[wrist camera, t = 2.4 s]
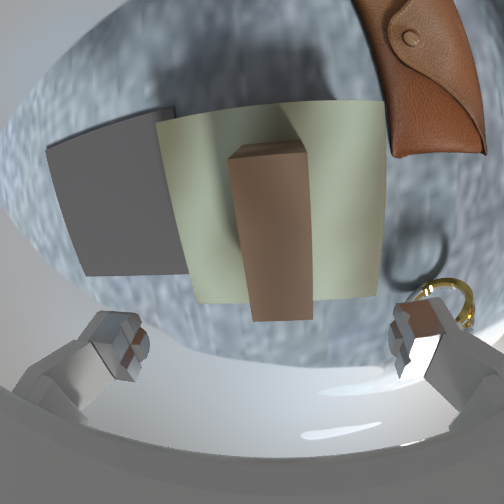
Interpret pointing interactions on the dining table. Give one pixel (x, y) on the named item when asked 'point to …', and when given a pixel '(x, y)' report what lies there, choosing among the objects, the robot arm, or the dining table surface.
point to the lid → (279, 202)
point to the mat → (118, 199)
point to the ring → (455, 284)
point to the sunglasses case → (425, 76)
